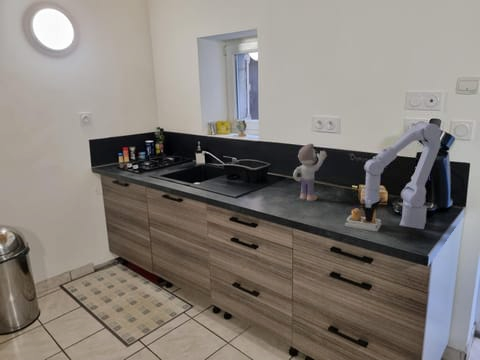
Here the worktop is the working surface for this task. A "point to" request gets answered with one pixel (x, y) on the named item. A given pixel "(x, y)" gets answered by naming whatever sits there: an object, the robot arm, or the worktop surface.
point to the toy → (308, 170)
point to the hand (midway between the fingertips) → (370, 218)
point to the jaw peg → (372, 219)
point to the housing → (361, 221)
